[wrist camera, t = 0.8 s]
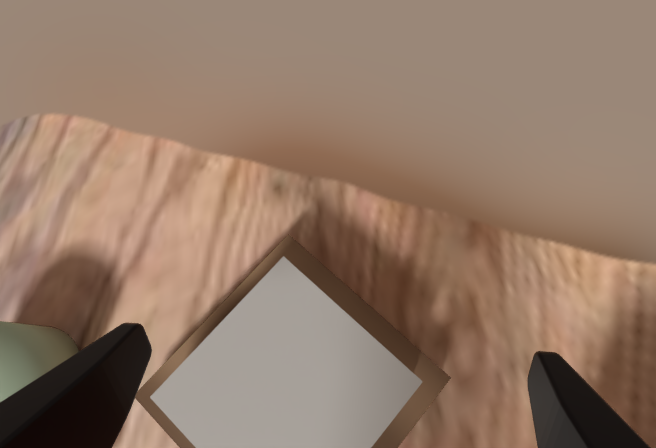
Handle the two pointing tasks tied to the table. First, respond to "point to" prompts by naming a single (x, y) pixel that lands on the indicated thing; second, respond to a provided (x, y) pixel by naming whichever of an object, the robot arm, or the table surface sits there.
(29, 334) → the green cylinder
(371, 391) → the grey top slab
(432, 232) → the table surface
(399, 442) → the walnut base slab
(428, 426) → the table surface
